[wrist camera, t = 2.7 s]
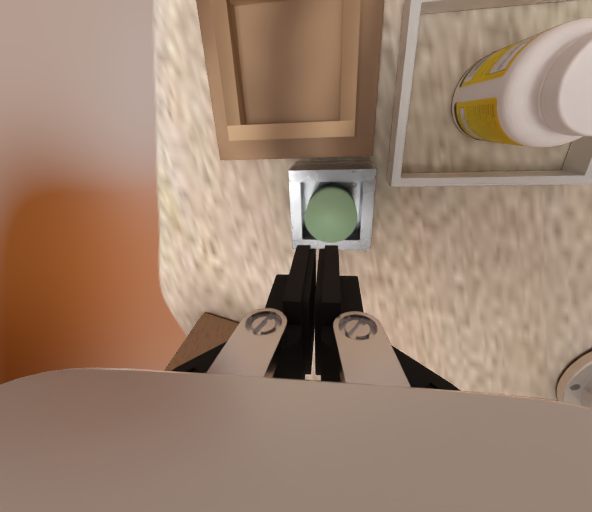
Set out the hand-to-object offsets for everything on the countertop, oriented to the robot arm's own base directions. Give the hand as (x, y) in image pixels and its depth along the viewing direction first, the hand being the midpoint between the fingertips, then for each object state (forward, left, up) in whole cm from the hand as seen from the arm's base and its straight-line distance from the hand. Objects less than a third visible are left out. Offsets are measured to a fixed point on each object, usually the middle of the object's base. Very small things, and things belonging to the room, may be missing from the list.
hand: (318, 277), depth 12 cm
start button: (0, 0, -11) cm, 11 cm away
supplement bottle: (-11, -7, -14) cm, 19 cm away
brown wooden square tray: (+3, -9, -14) cm, 17 cm away
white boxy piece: (0, 0, -14) cm, 14 cm away
